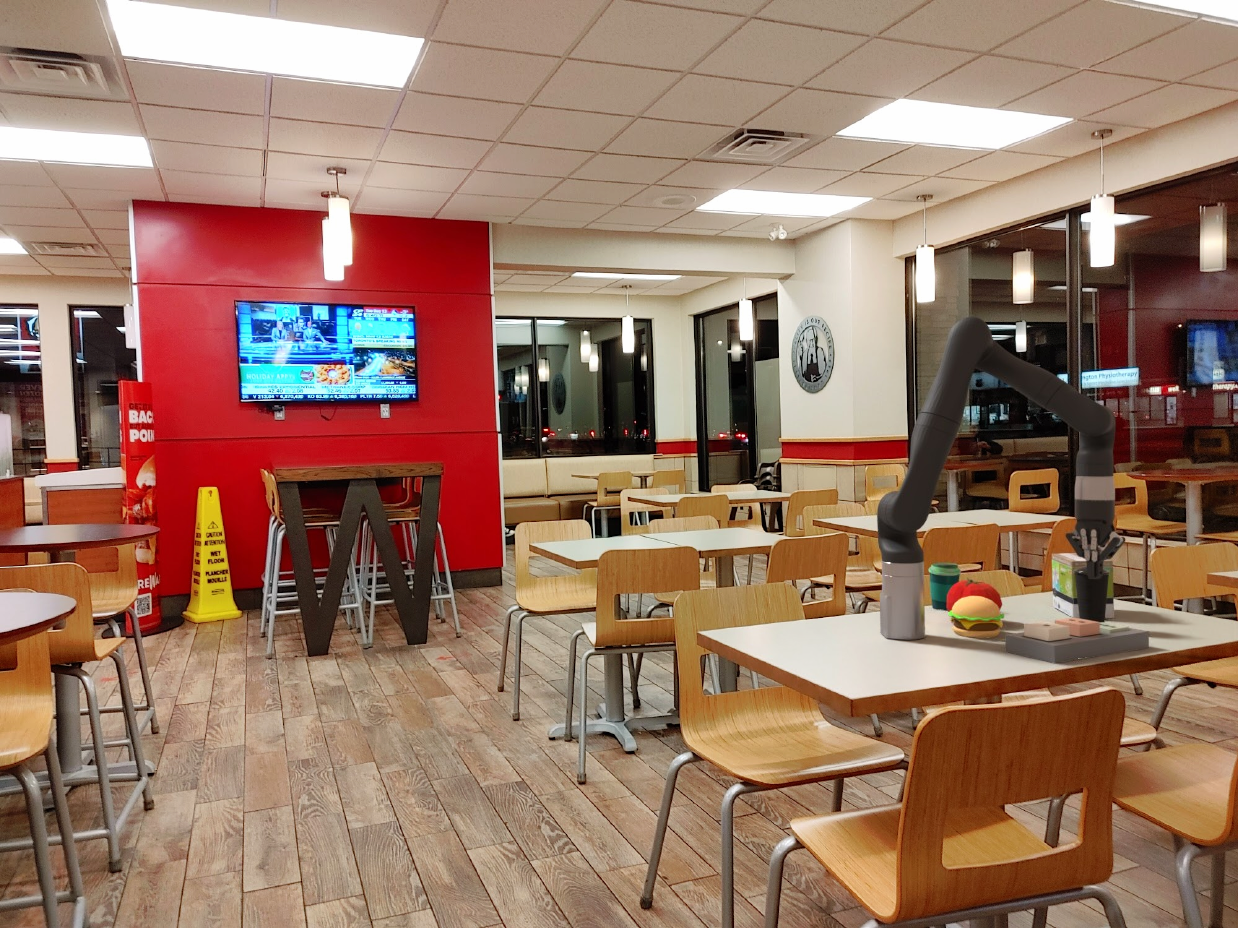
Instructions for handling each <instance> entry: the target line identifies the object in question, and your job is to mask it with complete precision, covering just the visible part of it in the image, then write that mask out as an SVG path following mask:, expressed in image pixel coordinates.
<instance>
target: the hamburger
mask: <svg viewBox="0 0 1238 928" xmlns="http://www.w3.org/2000/svg"><path fill="white" fill-rule="evenodd" d="M947 614H948V616H949V617H950V620H949V621H950V622H951V624H953V626H952V630H953V632H954V633H955V635H958V636H961V637H965V636H967V637H966V638H973V637H977V638H979V639H988V638H987V637H990V638H995V637H997V636H998V635H1000V633H1001V629H1002V628H1003V625H1004V624H1003V621H1002V619H1005V614H1004V613H1001V609H999V608H998V606H997V604H995V603H994V602H993V601H992V600H989V599H987V598H984V597H981V596H968V597H965V598H962V599H960V600H958V601H957V602H956V603H955V604H954V606H953V607H952V610H951V611H950V612H947Z"/></svg>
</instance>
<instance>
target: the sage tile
mask: <svg viewBox="0 0 1238 928" xmlns="http://www.w3.org/2000/svg"><path fill="white" fill-rule="evenodd" d="M1129 628H1130V627H1129V626H1127V625H1126V626H1125V625H1120V624H1115V623H1110V622H1106V621H1105V622H1101V623H1100V631H1101V632H1106V633H1116V632H1123V631H1129Z"/></svg>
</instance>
